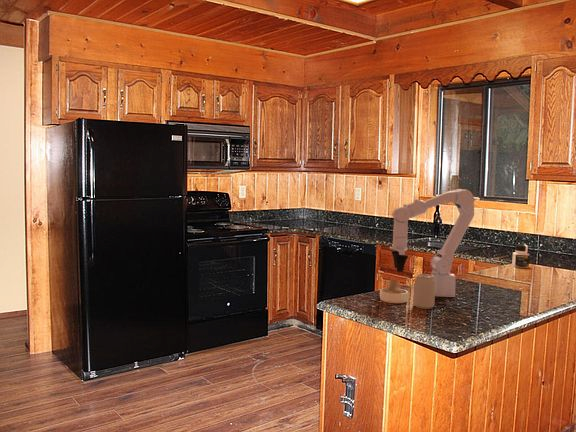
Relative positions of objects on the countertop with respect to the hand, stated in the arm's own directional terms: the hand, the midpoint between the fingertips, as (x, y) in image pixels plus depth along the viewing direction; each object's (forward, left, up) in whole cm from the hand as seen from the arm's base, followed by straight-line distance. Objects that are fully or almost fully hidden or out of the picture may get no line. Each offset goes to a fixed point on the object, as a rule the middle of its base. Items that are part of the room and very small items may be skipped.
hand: (398, 269), depth 224 cm
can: (-7, +20, -10) cm, 23 cm away
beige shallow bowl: (+3, +11, -10) cm, 15 cm away
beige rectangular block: (+3, +11, -9) cm, 15 cm away
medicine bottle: (-75, -76, -10) cm, 107 cm away
